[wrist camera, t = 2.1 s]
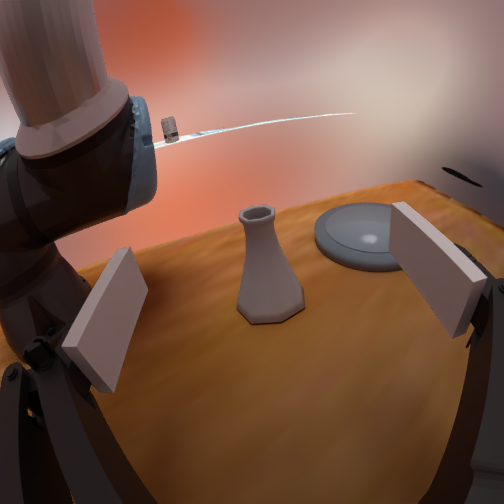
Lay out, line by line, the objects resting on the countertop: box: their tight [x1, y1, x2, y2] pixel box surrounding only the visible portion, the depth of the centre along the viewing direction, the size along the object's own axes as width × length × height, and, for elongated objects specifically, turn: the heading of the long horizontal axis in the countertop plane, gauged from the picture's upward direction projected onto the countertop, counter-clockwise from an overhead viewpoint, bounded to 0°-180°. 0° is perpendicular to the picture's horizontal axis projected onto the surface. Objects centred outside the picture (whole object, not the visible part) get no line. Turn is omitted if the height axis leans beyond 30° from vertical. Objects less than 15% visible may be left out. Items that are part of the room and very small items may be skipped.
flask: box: [237, 205, 305, 324], centre depth 27 cm, size 7×7×10 cm
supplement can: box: [161, 117, 179, 143], centre depth 151 cm, size 8×8×15 cm
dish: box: [315, 203, 402, 272], centre depth 36 cm, size 16×16×2 cm
